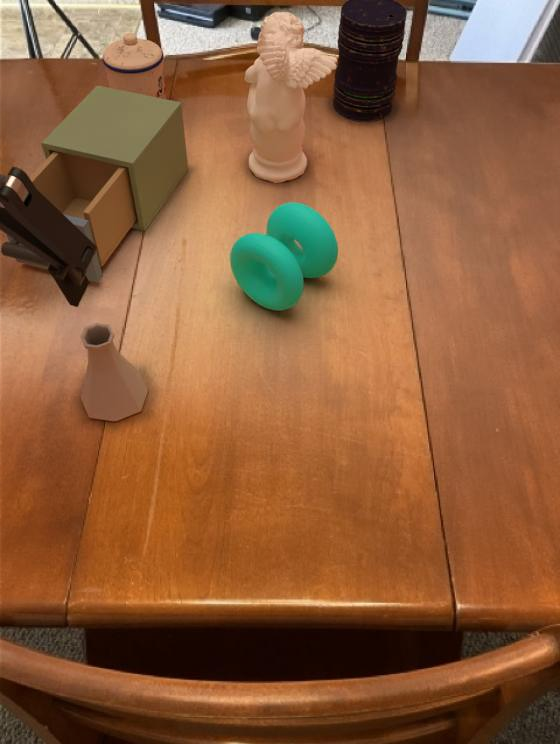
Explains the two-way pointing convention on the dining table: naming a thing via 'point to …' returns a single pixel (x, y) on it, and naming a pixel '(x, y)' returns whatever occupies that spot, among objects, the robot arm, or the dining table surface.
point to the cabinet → (128, 142)
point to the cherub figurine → (281, 96)
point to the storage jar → (368, 58)
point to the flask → (109, 378)
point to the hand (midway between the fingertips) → (13, 273)
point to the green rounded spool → (284, 256)
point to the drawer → (84, 205)
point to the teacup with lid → (135, 66)
